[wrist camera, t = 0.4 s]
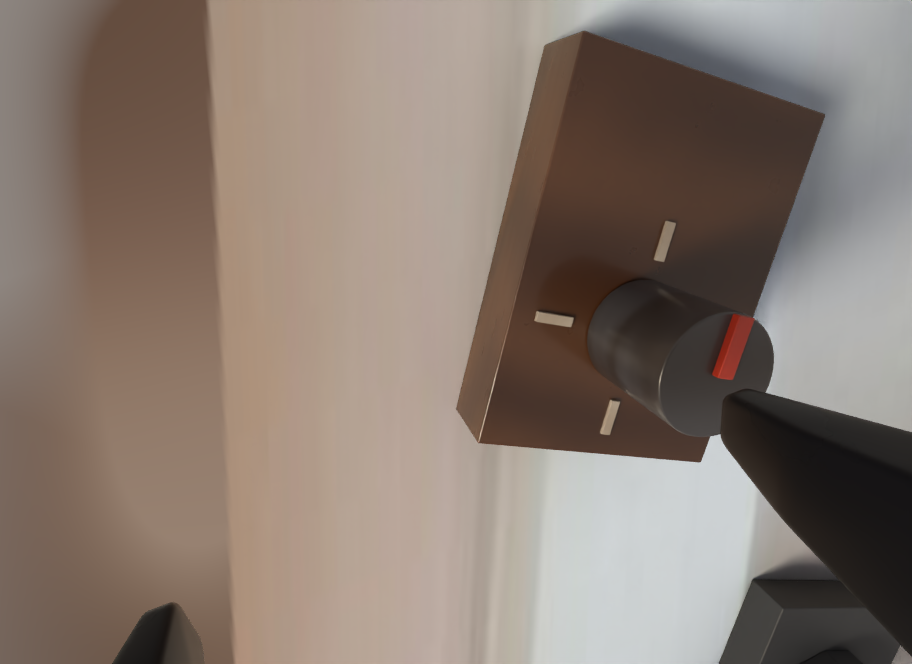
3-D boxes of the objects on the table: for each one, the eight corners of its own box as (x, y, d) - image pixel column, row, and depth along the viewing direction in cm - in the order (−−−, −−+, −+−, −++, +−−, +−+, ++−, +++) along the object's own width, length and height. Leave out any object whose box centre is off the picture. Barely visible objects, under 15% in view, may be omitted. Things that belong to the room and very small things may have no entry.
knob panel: (659, 430, 27) (703, 464, 24) (455, 409, 24) (479, 445, 21) (764, 117, 24) (830, 114, 21) (544, 44, 21) (586, 29, 18)
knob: (664, 388, 23) (754, 447, 18) (573, 376, 22) (647, 436, 17) (697, 288, 22) (801, 325, 18) (604, 270, 21) (691, 304, 16)
